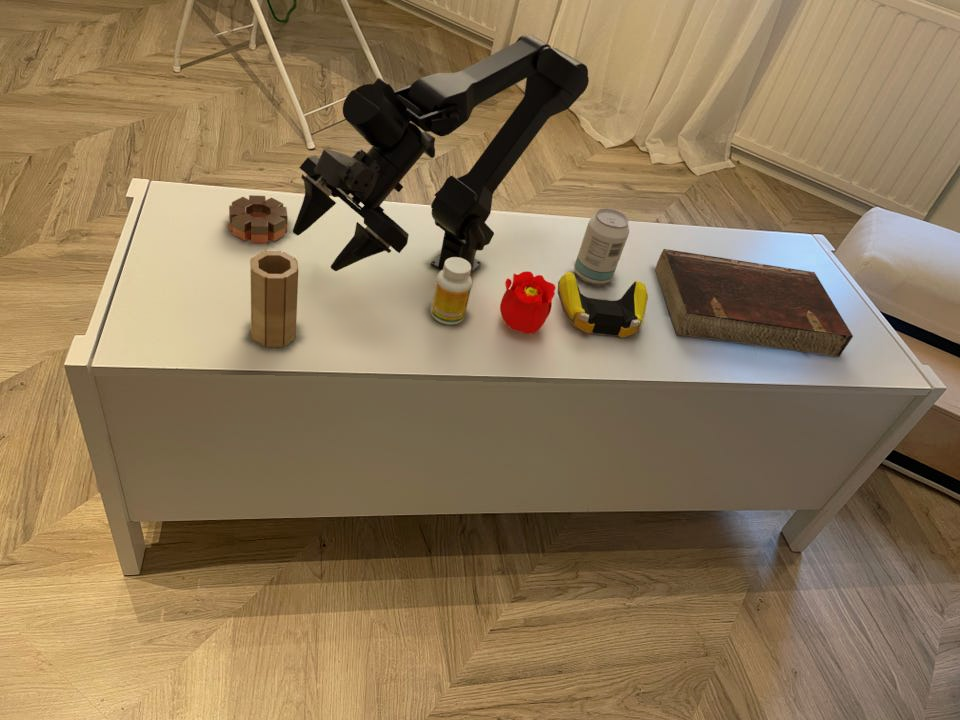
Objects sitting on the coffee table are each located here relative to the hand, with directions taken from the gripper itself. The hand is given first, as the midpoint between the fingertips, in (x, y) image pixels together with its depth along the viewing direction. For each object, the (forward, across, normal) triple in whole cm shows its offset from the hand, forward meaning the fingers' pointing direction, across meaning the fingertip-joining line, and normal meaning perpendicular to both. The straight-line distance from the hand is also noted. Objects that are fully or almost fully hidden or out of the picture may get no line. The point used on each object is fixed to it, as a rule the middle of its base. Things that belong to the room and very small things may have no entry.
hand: (313, 251), depth 105 cm
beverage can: (-26, +14, +43) cm, 52 cm away
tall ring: (+13, 0, +4) cm, 14 cm away
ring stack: (+5, -24, +12) cm, 27 cm away
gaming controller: (-20, +22, +37) cm, 48 cm away
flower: (-11, +17, +28) cm, 35 cm away
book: (-38, +35, +55) cm, 76 cm away
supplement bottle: (-5, +9, +22) cm, 24 cm away
